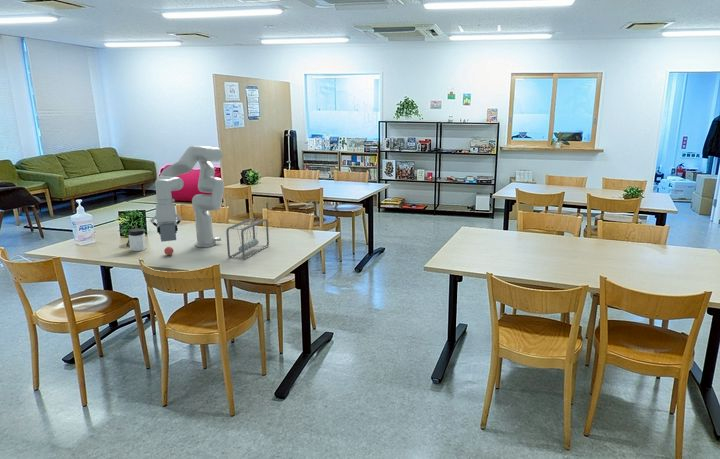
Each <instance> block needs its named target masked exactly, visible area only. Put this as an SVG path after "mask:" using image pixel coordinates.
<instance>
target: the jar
mask: <svg viewBox="0 0 720 459" xmlns="http://www.w3.org/2000/svg"><path fill="white" fill-rule="evenodd" d="M128 239H129V242H130V243H129V244H130V247H129V248H130V249H129V250H130V251H131V252H140V251H145V250H146V249H147V243H146V242H147V240H146V233H145V229H144V228H140V227H139V228H132V229H128Z"/></svg>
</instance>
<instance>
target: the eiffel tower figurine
mask: <svg viewBox="0 0 720 459" xmlns="http://www.w3.org/2000/svg"><path fill="white" fill-rule="evenodd" d="M127 228H128V229H130V225H128V227H127ZM118 246H119V248H120V249H122V248H123V249H125V250H126V249H127V248H130V242H129V238H128V240H127V242H126V243H124V244H121V245H118ZM124 247H127V248H124Z"/></svg>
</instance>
